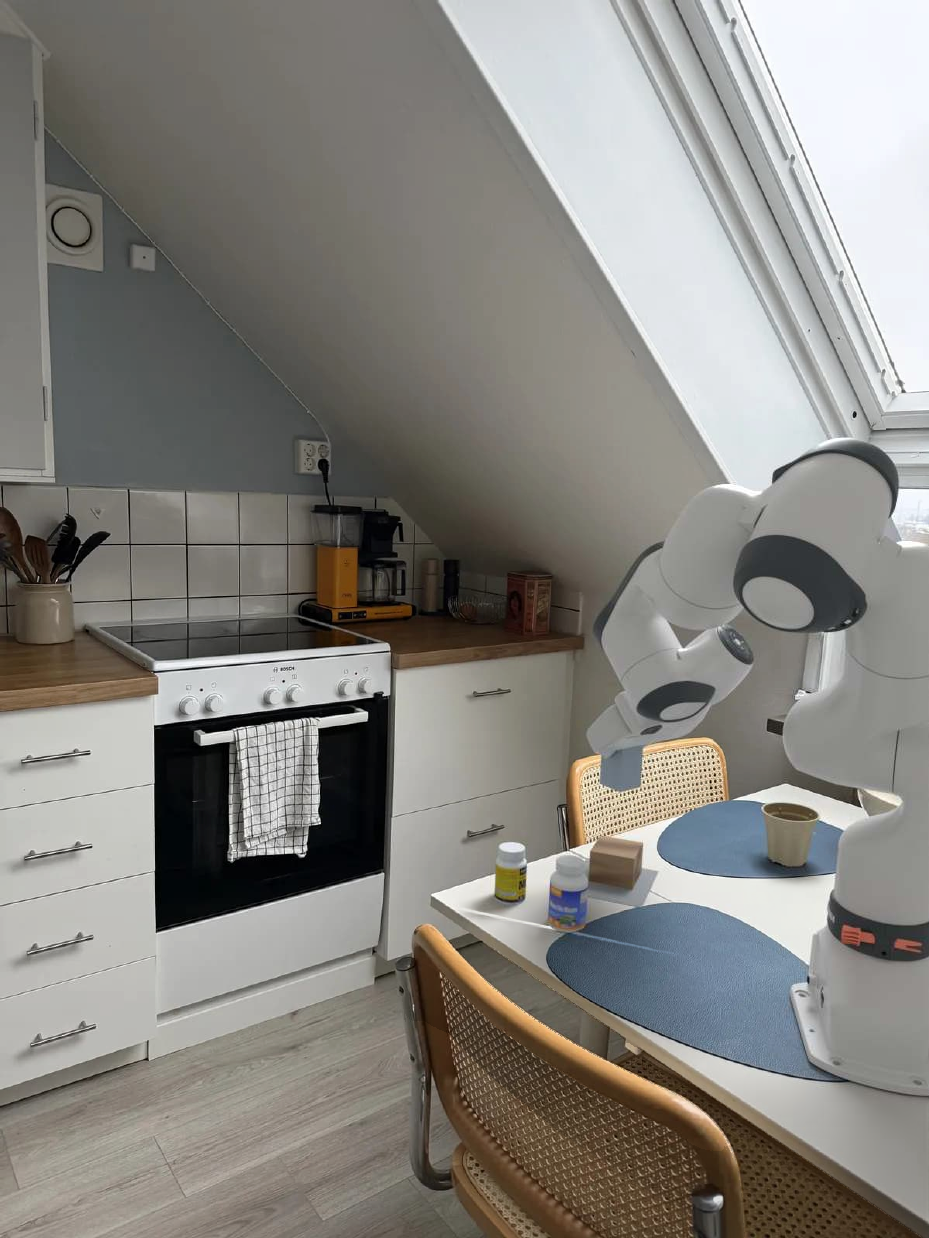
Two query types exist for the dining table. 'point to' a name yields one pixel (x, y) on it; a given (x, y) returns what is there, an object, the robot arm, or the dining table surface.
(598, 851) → the walnut block
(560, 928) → the pill bottle
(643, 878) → the mat
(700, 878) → the dining table surface
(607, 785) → the slate pillar
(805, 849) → the flower pot
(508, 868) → the supplement bottle
